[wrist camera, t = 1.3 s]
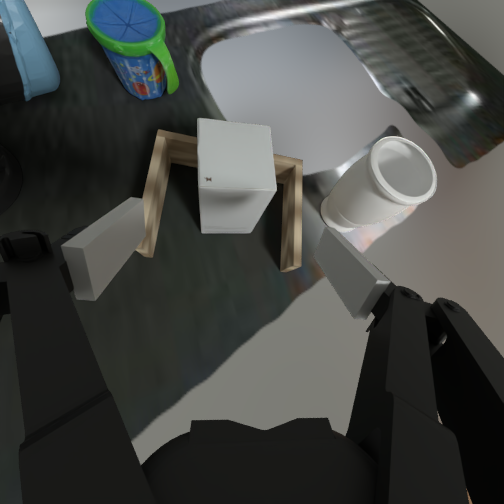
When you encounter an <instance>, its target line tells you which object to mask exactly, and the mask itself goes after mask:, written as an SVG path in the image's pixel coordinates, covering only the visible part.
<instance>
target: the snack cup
mask: <svg viewBox="0 0 504 504" xmlns="http://www.w3.org/2000/svg"><path fill="white" fill-rule="evenodd" d="M85 15H86V20H87V22H86V24H87V26H88V29H89V31H90V32H91V34H92V35H93V36H94V37H95V39H96V40H97V41H98V42H99V43H100V44H101V46H102V48H103V50H104V52H105V54H106V56H107V57H108V59H109V61H110V63H111V65H112V66H113V68H114V70H115V72H116V74H117V75H118V77H119V79H120V81H121V82H122V84H123V86H124V88H125V89H126V90H127V91H128V92H129V93H130V94H132V95H133V96H136V97H137V98H139V99H141V100H144V99H147V100H148V99H154V98H157V97H161V96H162V94H163V92H164V90H165V87H166V77H167V92H168V94H172V93H173V92H175V91H176V89H177V88H178V85H179V80H178V77H177V73H176V71H175V68H174V65H173V62H172V59H171V56H170V54H169V51H168V49H167V47H166V45H165V43H164V41H165V21H164V19H163V17H162V16H161V14H160V13H159V11H158V10H157V9H156V8H155V7H154V6H153V5H152V4H150V3H149V2H147V1H146V0H92V1H91V2H90V3H89V4H88V6H87V8H86V12H85ZM165 75H166V76H165Z"/></svg>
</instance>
